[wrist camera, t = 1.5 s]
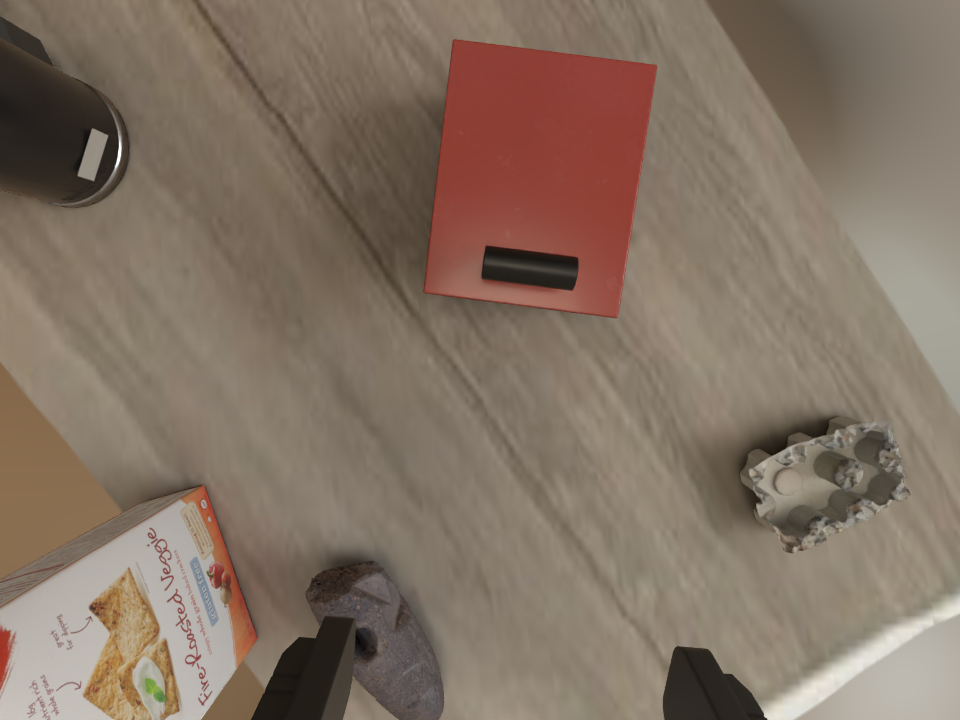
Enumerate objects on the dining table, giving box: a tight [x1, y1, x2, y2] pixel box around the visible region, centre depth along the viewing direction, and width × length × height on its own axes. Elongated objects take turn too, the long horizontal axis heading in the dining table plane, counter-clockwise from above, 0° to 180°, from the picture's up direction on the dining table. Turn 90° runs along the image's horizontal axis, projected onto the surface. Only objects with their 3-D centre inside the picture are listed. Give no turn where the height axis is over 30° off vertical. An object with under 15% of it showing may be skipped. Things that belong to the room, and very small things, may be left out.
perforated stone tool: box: [305, 561, 444, 720], centre depth 39 cm, size 15×5×7 cm, turn 30°
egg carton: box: [740, 416, 911, 553], centre depth 39 cm, size 11×8×4 cm
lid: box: [423, 39, 657, 318], centre depth 29 cm, size 15×12×5 cm
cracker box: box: [0, 486, 257, 720], centre depth 32 cm, size 14×6×21 cm, turn 16°
